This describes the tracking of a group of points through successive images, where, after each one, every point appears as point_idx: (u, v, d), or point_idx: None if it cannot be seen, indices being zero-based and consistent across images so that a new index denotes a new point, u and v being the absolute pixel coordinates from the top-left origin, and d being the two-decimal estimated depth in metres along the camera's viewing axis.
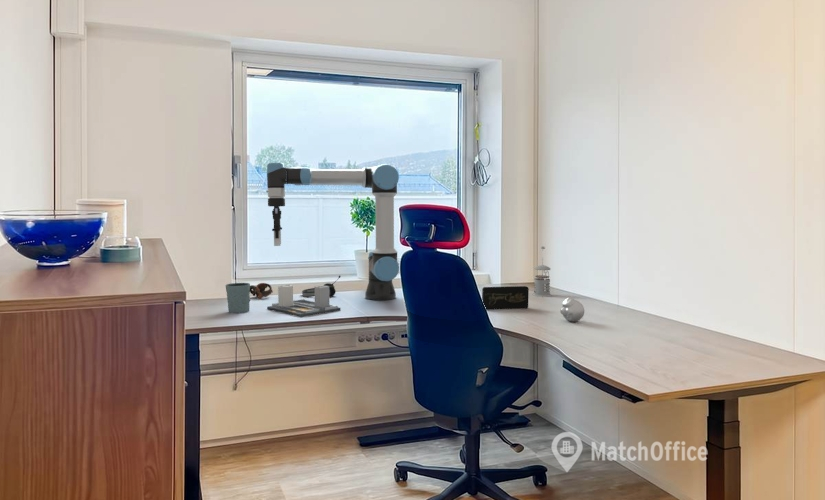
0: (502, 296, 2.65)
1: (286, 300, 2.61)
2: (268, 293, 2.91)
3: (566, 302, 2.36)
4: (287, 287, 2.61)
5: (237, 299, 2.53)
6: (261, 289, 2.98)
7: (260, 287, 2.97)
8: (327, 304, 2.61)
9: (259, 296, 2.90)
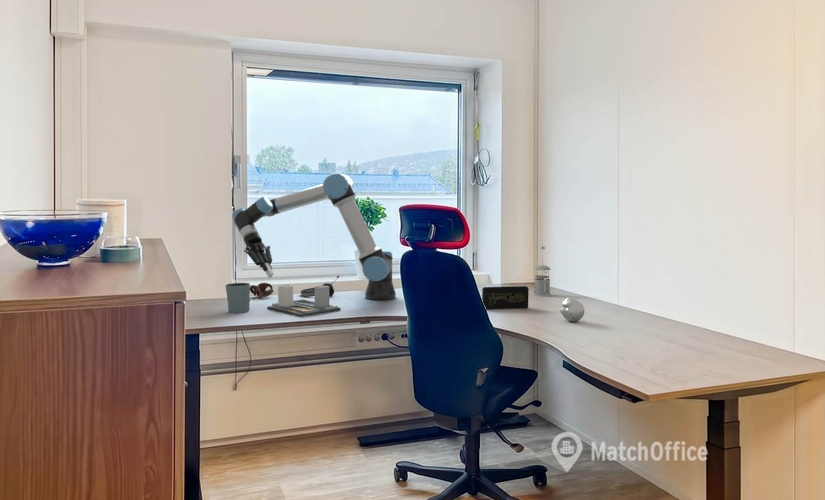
0: (502, 296, 2.65)
1: (286, 300, 2.61)
2: (269, 293, 2.92)
3: (566, 302, 2.36)
4: (287, 287, 2.61)
5: (237, 299, 2.53)
6: (262, 289, 2.98)
7: (261, 287, 2.97)
8: (327, 304, 2.61)
9: (260, 296, 2.90)
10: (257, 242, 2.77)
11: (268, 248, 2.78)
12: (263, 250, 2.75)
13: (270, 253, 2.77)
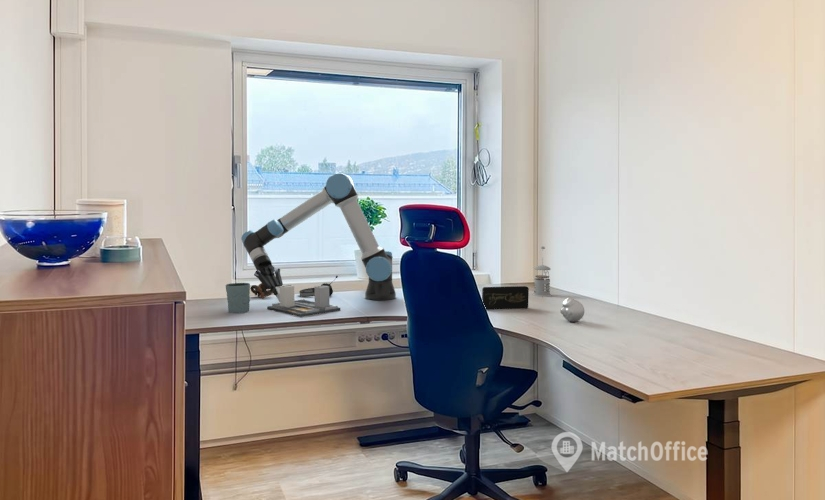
0: (502, 296, 2.65)
1: (287, 300, 2.61)
2: (270, 292, 2.93)
3: (566, 302, 2.36)
4: (288, 287, 2.61)
5: (237, 299, 2.53)
6: (263, 289, 2.99)
7: (262, 287, 2.98)
8: (327, 304, 2.61)
9: (261, 296, 2.91)
10: (267, 265, 2.73)
11: (278, 271, 2.74)
12: (273, 273, 2.71)
13: (280, 276, 2.72)
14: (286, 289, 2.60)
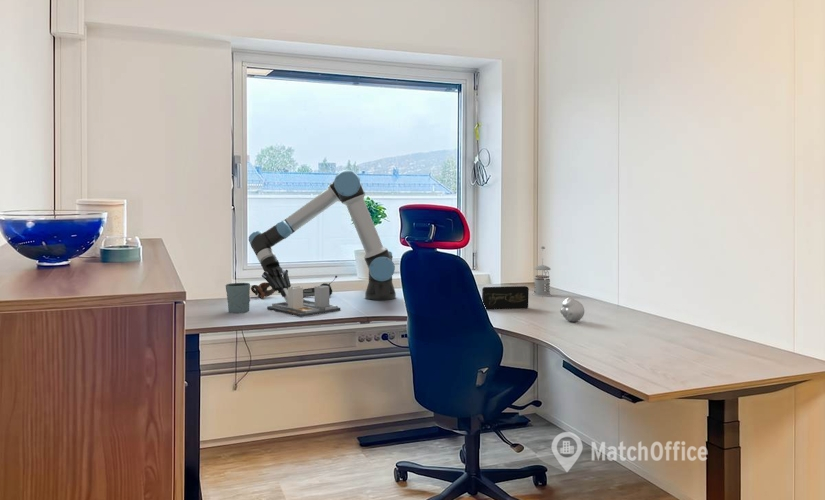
0: (502, 296, 2.65)
1: (296, 302, 2.56)
2: (271, 292, 2.93)
3: (566, 302, 2.36)
4: (297, 289, 2.56)
5: (237, 299, 2.53)
6: (263, 288, 2.99)
7: (262, 286, 2.98)
8: (327, 304, 2.61)
9: (262, 295, 2.91)
10: (275, 266, 2.68)
11: (286, 272, 2.69)
12: (281, 275, 2.66)
13: (288, 277, 2.68)
14: (295, 291, 2.55)
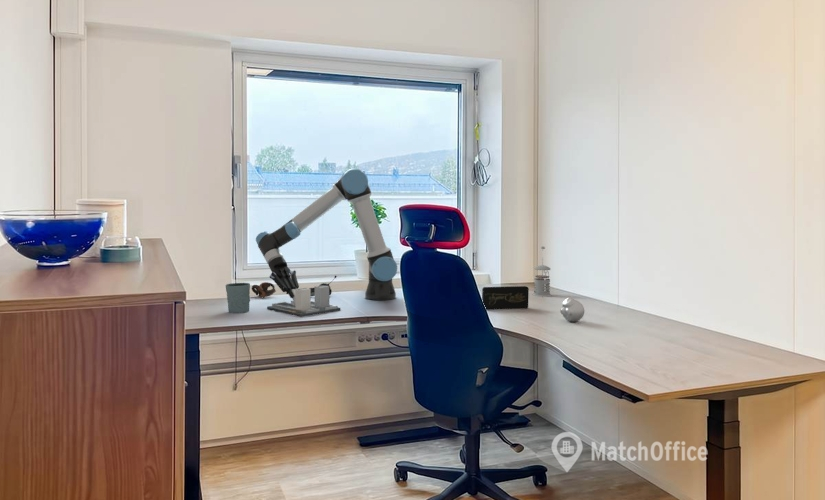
0: (502, 296, 2.65)
1: (304, 303, 2.53)
2: (271, 292, 2.94)
3: (566, 302, 2.36)
4: (304, 290, 2.52)
5: (237, 299, 2.53)
6: (264, 288, 3.00)
7: (263, 286, 2.99)
8: (327, 304, 2.61)
9: (262, 295, 2.92)
10: (282, 267, 2.65)
11: (294, 273, 2.66)
12: (289, 275, 2.63)
13: (296, 278, 2.65)
14: (302, 292, 2.52)
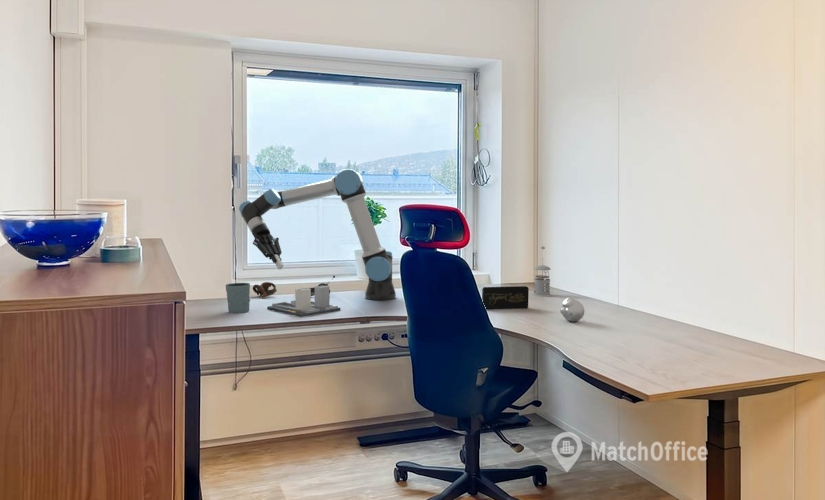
0: (502, 296, 2.65)
1: (304, 303, 2.52)
2: (272, 292, 2.94)
3: (566, 302, 2.36)
4: (305, 290, 2.52)
5: (237, 299, 2.53)
6: (265, 288, 3.01)
7: (264, 286, 3.00)
8: (327, 304, 2.61)
9: (264, 295, 2.93)
10: (265, 234, 2.73)
11: (277, 240, 2.74)
12: (272, 242, 2.70)
13: (279, 245, 2.72)
14: (302, 292, 2.52)
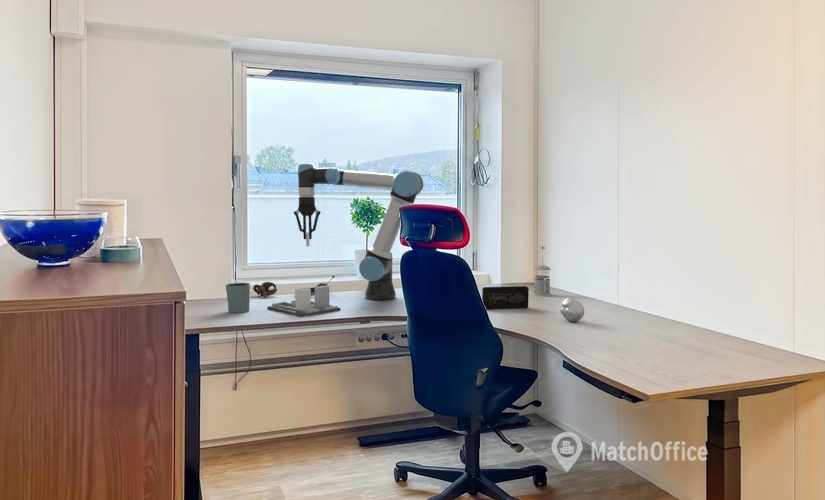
0: (502, 296, 2.65)
1: (304, 303, 2.52)
2: (273, 292, 2.95)
3: (566, 302, 2.36)
4: (305, 290, 2.52)
5: (237, 299, 2.53)
6: (265, 288, 3.01)
7: (264, 286, 3.00)
8: (327, 304, 2.61)
9: (264, 295, 2.93)
10: (309, 206, 2.83)
11: (317, 214, 2.84)
12: (310, 217, 2.83)
13: None
14: (302, 292, 2.52)
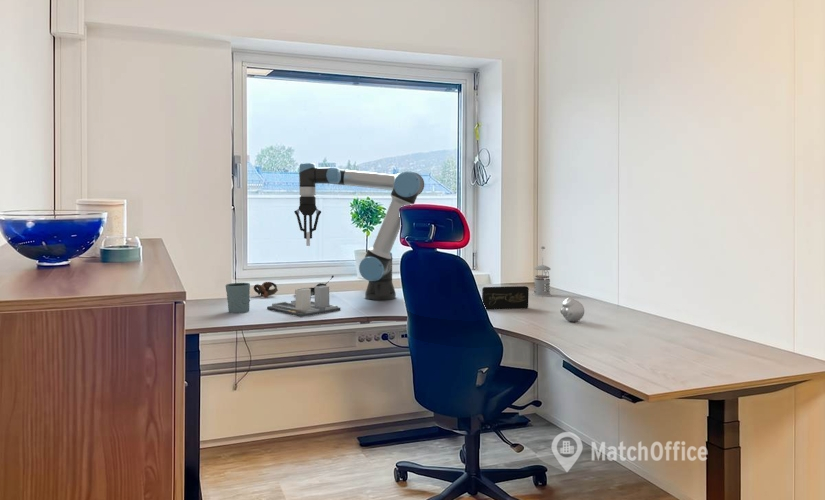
0: (502, 296, 2.65)
1: (304, 303, 2.52)
2: (274, 292, 2.95)
3: (566, 302, 2.36)
4: (305, 290, 2.52)
5: (237, 299, 2.53)
6: (266, 288, 3.02)
7: (265, 286, 3.01)
8: (327, 304, 2.61)
9: (265, 295, 2.94)
10: (309, 205, 2.83)
11: (318, 214, 2.84)
12: (311, 217, 2.83)
13: (317, 220, 2.84)
14: (302, 292, 2.52)
